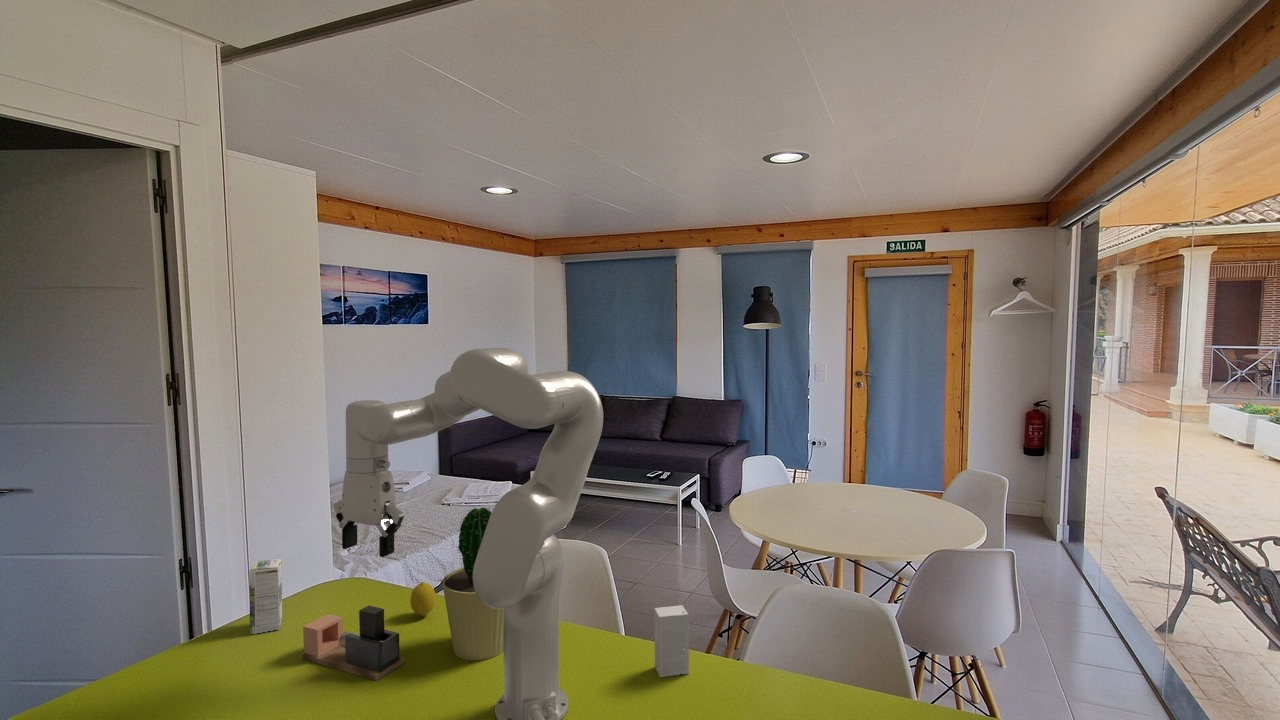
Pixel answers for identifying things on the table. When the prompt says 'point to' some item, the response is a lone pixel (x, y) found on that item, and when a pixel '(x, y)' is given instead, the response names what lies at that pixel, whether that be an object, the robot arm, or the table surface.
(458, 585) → the potted cactus
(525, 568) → the robot arm
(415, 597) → the lemon
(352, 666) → the base board
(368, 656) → the dark grey open box
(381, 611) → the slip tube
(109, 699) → the table surface
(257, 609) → the syrup box
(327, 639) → the socket block
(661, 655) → the skincare box
